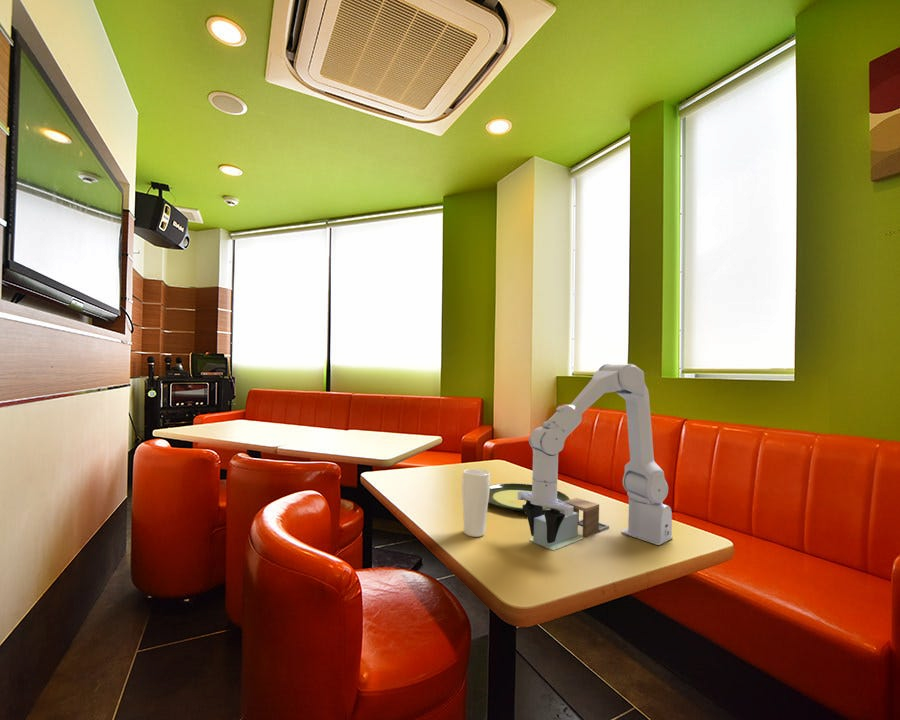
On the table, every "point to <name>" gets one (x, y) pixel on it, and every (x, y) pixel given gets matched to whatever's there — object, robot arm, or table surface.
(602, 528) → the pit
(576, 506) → the tunnel
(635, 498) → the robot arm
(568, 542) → the pad
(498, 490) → the plate
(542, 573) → the table surface
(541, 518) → the pale grey rectangular block
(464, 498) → the drinking glass
